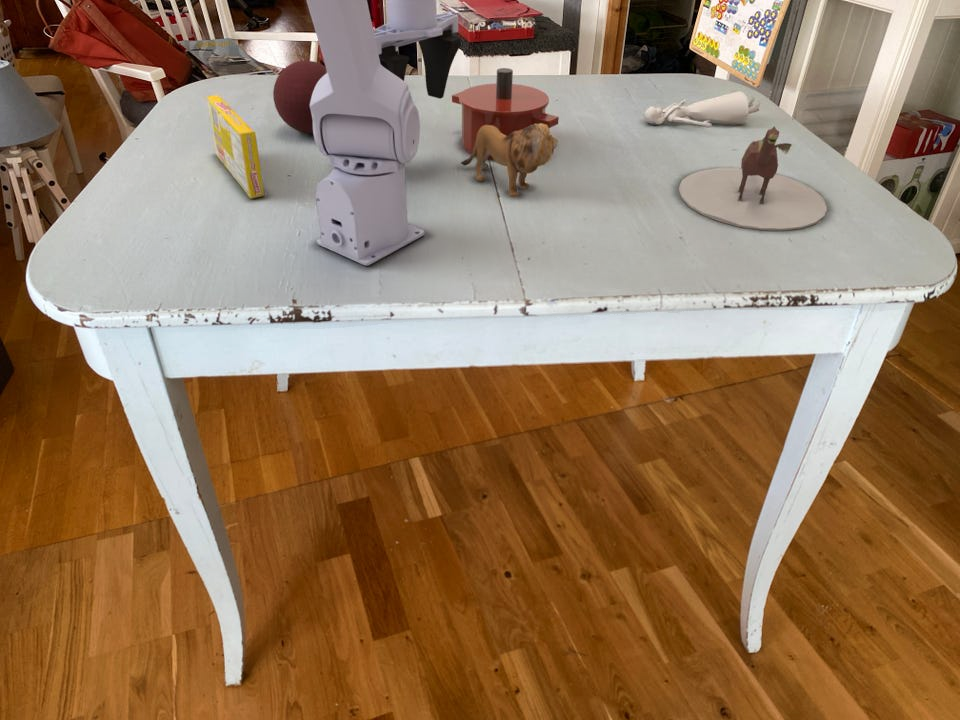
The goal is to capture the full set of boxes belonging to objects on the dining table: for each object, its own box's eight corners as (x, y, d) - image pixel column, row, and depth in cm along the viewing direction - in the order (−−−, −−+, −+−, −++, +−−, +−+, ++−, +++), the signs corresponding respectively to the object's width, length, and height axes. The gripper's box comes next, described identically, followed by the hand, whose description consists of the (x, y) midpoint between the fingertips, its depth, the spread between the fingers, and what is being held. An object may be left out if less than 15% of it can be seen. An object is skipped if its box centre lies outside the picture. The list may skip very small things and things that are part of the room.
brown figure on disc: (832, 240, 81) (865, 148, 74) (673, 217, 85) (691, 128, 78) (820, 179, 95) (847, 97, 88) (683, 162, 99) (700, 82, 92)
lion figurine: (560, 192, 90) (566, 122, 85) (535, 206, 87) (540, 134, 81) (473, 162, 98) (474, 96, 92) (447, 173, 94) (446, 105, 89)
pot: (527, 172, 95) (529, 125, 91) (432, 142, 103) (430, 97, 99) (572, 147, 102) (577, 103, 99) (480, 121, 111) (481, 79, 107)
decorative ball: (350, 120, 110) (343, 52, 104) (342, 144, 102) (334, 72, 96) (286, 120, 110) (275, 52, 104) (273, 143, 102) (260, 71, 96)
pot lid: (513, 127, 92) (515, 90, 89) (440, 106, 98) (439, 71, 96) (565, 103, 100) (568, 68, 97) (494, 85, 106) (495, 52, 103)
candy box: (267, 196, 88) (255, 130, 83) (250, 200, 87) (237, 134, 82) (231, 153, 99) (219, 93, 94) (216, 156, 98) (202, 95, 93)
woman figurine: (775, 103, 105) (658, 114, 104) (769, 132, 108) (655, 144, 107) (743, 80, 115) (634, 90, 113) (738, 107, 117) (632, 118, 116)
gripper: (392, -4, 73) (399, 126, 82) (478, -22, 82) (476, 96, 91) (344, -13, 77) (356, 113, 85) (432, -30, 86) (435, 85, 94)
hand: (415, 104), depth 88 cm, fingers open, 7 cm apart
